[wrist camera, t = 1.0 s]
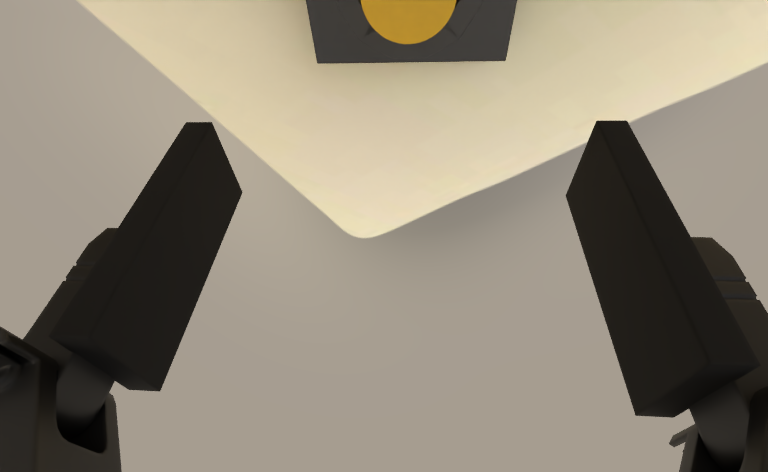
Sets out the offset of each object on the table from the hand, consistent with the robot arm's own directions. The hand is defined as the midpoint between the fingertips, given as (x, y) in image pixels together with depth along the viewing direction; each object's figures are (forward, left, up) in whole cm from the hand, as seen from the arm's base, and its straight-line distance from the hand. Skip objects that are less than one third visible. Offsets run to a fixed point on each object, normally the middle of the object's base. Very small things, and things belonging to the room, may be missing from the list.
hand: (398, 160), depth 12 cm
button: (0, 0, -14) cm, 14 cm away
